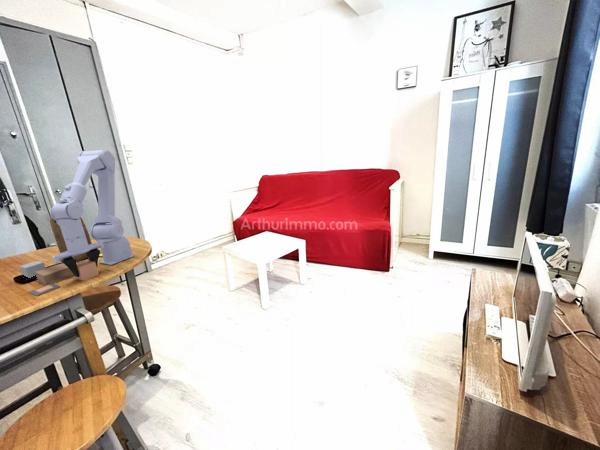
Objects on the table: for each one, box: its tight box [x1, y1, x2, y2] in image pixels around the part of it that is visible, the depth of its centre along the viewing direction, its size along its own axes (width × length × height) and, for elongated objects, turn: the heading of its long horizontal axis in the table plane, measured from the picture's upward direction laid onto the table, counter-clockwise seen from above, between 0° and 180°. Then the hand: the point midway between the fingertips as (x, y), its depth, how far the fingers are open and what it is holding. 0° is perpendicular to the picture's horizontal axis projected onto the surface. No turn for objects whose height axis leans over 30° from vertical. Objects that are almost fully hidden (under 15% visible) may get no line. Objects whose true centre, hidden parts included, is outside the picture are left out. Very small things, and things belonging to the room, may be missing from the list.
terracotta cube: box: [74, 259, 100, 282], centre depth 94 cm, size 5×5×5 cm
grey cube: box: [19, 260, 46, 278], centre depth 97 cm, size 5×5×5 cm
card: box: [28, 283, 61, 297], centre depth 87 cm, size 6×6×1 cm
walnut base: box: [35, 262, 75, 286], centre depth 94 cm, size 8×8×4 cm
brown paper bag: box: [49, 216, 93, 262], centre depth 111 cm, size 11×8×20 cm
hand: (86, 273), depth 94 cm, fingers closed on terracotta cube, 5 cm apart
